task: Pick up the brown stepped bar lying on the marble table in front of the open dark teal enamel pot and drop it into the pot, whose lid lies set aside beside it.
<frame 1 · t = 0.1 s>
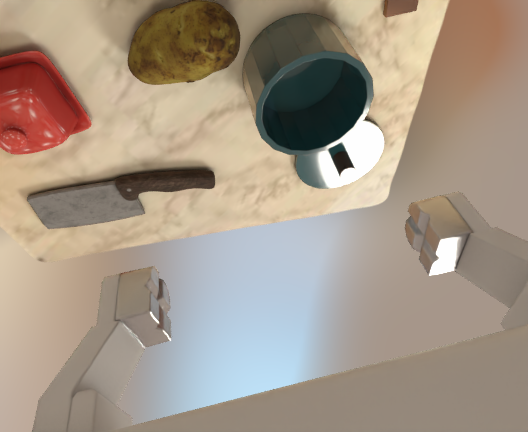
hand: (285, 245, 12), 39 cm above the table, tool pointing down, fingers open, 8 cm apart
potato: (178, 28, 44), on the table
pot: (295, 69, 51), on the table
cleaver: (126, 193, 63), on the table
butter dish: (27, 96, 47), on the table
lid: (339, 155, 65), point 1 cm above the table
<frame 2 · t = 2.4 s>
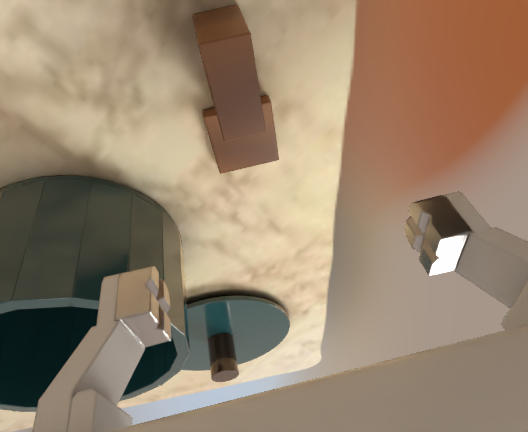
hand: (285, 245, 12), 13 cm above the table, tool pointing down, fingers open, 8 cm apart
pot: (83, 249, 29), on the table
brown stepped bar: (233, 96, 22), on the table
lid: (219, 335, 42), point 1 cm above the table
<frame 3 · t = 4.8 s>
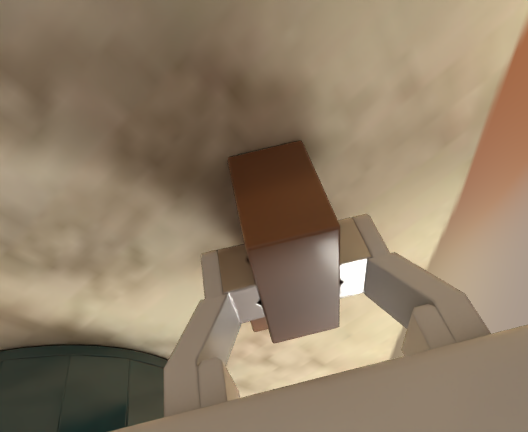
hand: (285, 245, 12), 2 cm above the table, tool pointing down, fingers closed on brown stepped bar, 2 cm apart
pot: (64, 407, 21), on the table
brown stepped bar: (281, 246, 15), on the table, touching gripper
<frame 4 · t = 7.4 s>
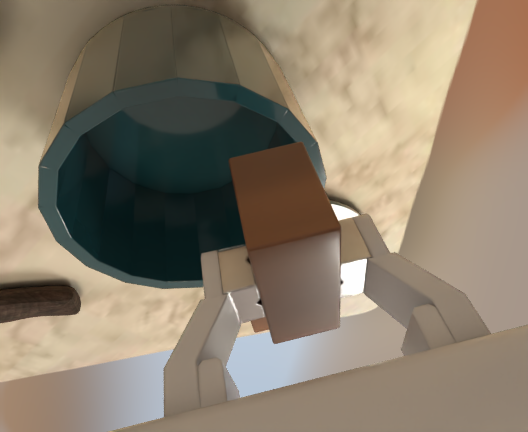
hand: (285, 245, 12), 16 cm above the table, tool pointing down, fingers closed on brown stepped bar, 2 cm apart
pot: (184, 118, 26), on the table
brown stepped bar: (281, 247, 15), point 15 cm above the table, touching gripper
lid: (295, 254, 39), point 1 cm above the table
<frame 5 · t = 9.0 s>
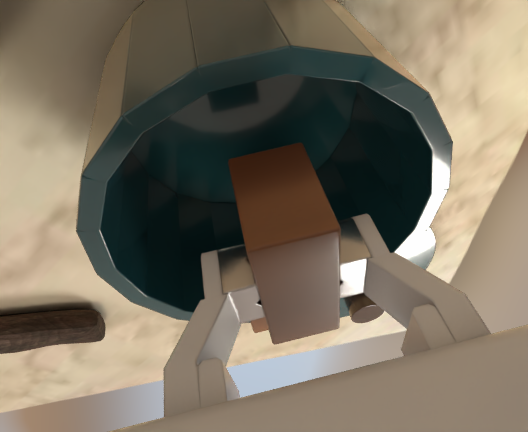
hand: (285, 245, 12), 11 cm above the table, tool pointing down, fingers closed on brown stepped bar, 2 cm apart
pot: (241, 113, 21), on the table
brown stepped bar: (281, 247, 15), point 10 cm above the table, touching gripper
lid: (349, 269, 34), point 1 cm above the table
when the fingers open (8 cm above the table, at t = 10.2 s): brown stepped bar drops 6 cm, resting on pot.
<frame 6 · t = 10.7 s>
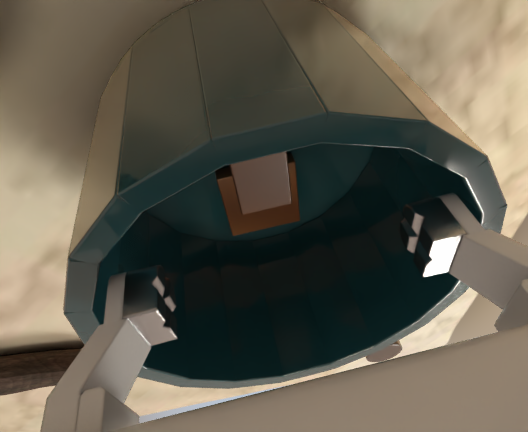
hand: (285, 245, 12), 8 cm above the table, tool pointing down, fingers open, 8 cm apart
pot: (252, 149, 19), on the table
brown stepped bar: (252, 154, 19), point 1 cm above the table, touching pot
lid: (362, 302, 32), point 1 cm above the table
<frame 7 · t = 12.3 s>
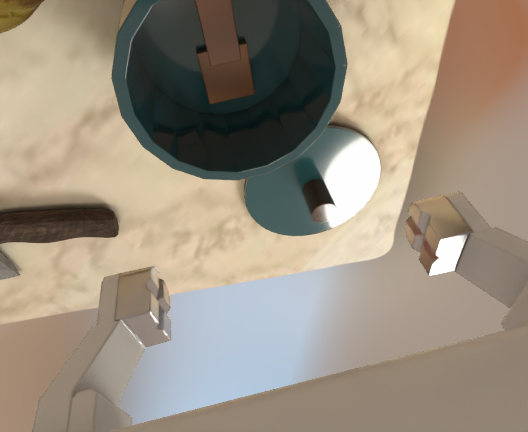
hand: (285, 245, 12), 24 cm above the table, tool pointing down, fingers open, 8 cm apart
pot: (220, 37, 30), on the table
brown stepped bar: (219, 39, 30), resting on pot
lid: (312, 185, 43), point 1 cm above the table
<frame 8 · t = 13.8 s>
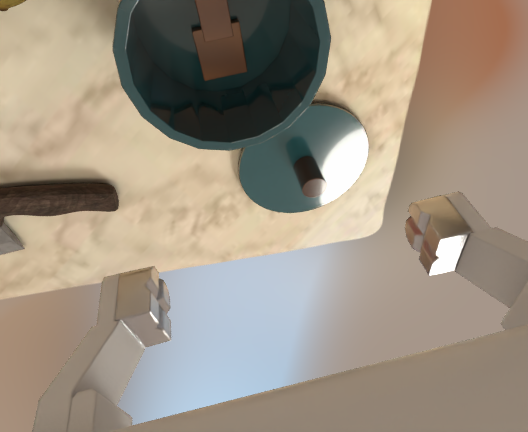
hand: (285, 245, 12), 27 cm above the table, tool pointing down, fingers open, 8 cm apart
pot: (213, 16, 32), on the table
brown stepped bar: (213, 18, 32), resting on pot
lid: (303, 163, 45), point 1 cm above the table
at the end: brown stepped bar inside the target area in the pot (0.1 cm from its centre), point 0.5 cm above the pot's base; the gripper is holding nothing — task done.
